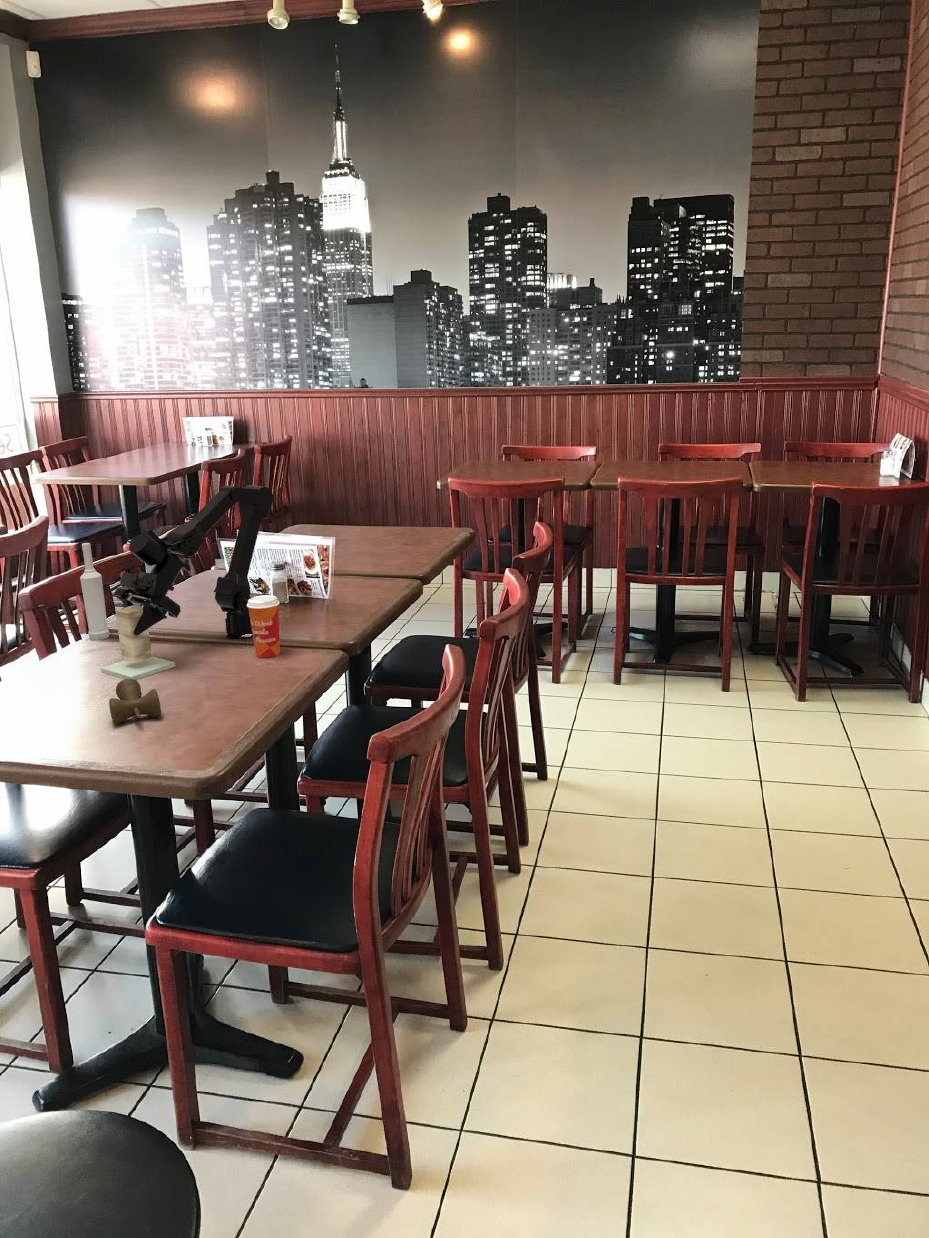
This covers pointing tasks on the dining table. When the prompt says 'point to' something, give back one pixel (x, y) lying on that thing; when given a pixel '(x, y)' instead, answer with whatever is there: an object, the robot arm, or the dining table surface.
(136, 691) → the kendama
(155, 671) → the sage pad
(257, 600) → the paper cup
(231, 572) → the robot arm
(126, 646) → the birch block
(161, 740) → the dining table surface
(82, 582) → the bottle
